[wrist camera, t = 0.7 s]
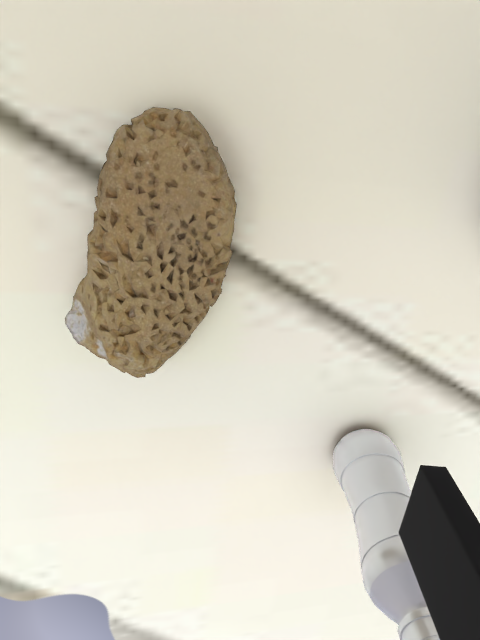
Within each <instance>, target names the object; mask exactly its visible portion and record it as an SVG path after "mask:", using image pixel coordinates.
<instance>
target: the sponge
mask: <svg viewBox="0 0 480 640" xmlns="http://www.w3.org/2000/svg"><path fill="white" fill-rule="evenodd" d="M131 122H132V125H122V126H121V127H120V128H119V129H118V130H117V131H116V133H115V134H114V138H113V141H112V143H111V145H110V147H109V149H108V151H107V154H106V157H107V161H106V162H105V163H104V165H103V168H102V170H101V173H100V176H99V181H98V187H97V192H98V196H96V197H95V203H96V206H97V211H96V212H95V213H94V227H93V230H92V231H91V232H90V233H89V234H88V253H87V259H88V272H87V275H86V277H85V278H84V279H83V280H82V281H81V282H80V284H79V286H78V288H77V290H76V293H75V295H74V296H73V305H72V309H71V311H69V313H68V314H67V315H66V318H65V324H66V325H67V327H68V329H69V330H70V332H71V333H72V335H73V338H74V339H75V340H76V341H77V343H78V344H80V345H82V346H85V347H86V348H87V349H88V350H90V352H92V353H93V354H95V355H96V356H98V357H100V358H104V359H106V360H107V361H108V363H109V364H110V365H112V366H114V367H115V368H117V369H119V370H120V371H122V372H123V373H125V372H127V373H129V374H130V375H132V376H134V377H137V378H139V377H145V374H149V373H154V371H156V370H157V369H159V368H160V367H161V366H162V365H163V364H164V362H165V361H166V360H167V359H168V358H170V357H171V356H173V355H174V354H175V353H176V352H177V351H178V350H179V349H180V348H181V347H182V346H183V345H184V344H185V343H186V341H187V340H188V339H189V338H190V336H191V334H192V333H193V331H194V330H195V329H196V328H197V326H198V325H199V324H200V322H201V321H202V320H203V319H204V317H205V316H206V314H207V313H208V310H209V306H213V305H214V303H215V302H216V301H217V299H218V297H219V294H221V292H222V289H221V285H222V281H223V278H224V277H225V276H226V275H225V272H226V269H227V267H228V264H229V261H230V258H231V255H232V251H231V250H230V245H231V241H232V235H233V232H234V219H235V212H236V206H237V204H236V202H235V199H234V195H235V191H234V188H233V186H232V184H231V182H230V180H229V177H228V174H227V171H226V168H225V165H224V163H223V161H222V159H221V157H220V155H219V153H218V148H217V147H216V146H214V145H213V143H212V141H211V138H210V136H209V134H208V132H207V131H206V130H205V128H204V127H203V126H202V124H201V123H200V122H199V121H198V120H197V119H196V118H195V117H194V116H193V114H192V113H191V112H190V111H182V110H180V109H173V110H169V109H166V108H155V107H153V108H150V109H148V110H146V111H144V112H143V114H142V115H139V116H137V117H135V118H133V119H131Z"/></svg>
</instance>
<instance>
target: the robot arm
mask: <svg viewBox="0 0 480 640" xmlns="http://www.w3.org/2000/svg"><path fill="white" fill-rule="evenodd" d="M399 535H400V538H401V540H402V543H403V545H404V548H405V551H406V553H407V556H408V558H409V561H410V564H411V566H412V569H413V571H414V574H415V577H416V579H417V582H418V584H419V587H420V589H421V592H422V595H423V597H424V600H425V602H426V605H427V608H428V610H429V613H430V615H431V618H432V621H433V623H434V626H435V628H436V631H437V633H438V636H439V639H440V640H480V523H479V521H478V520H477V518H476V516H475V515H474V513H473V511H472V510H471V508H470V506H469V505H468V503H467V501H466V500H465V498H464V496H463V495H462V493H461V492H460V490H459V488H458V487H457V485H456V483H455V482H454V480H453V478H452V477H451V475H450V473H449V472H448V470H447V468H446V467H437V466H425V465H420V468H419V471H418V474H417V477H416V480H415V483H414V486H413V490H412V493H411V496H410V499H409V502H408V505H407V508H406V511H405V514H404V517H403V520H402V523H401V526H400V529H399Z"/></svg>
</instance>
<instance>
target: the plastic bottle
mask: <svg viewBox="0 0 480 640" xmlns="http://www.w3.org/2000/svg"><path fill="white" fill-rule="evenodd" d="M333 470H334V473H335V476H336V478H337V480H338V482H339V484H340V486H341V487H342V489H343V491H344V493H345V495H346V498H347V501H348V503H349V506H350V508H351V511H352V514H353V518H354V522H355V527H356V532H357V536H358V543H359V552H360V562H361V569H362V577H363V583H364V587H365V590H366V591H367V593H368V595H369V596H370V598H371V600H372V601H373V603H374V604H375V605H376V606H377V607H378V608H379V609H380V610H381V611H382V612H383V613H384V614H385V615H386V616H387V617H388V618H390V619H391V620H393V621H394V622H395V623H397V624H398V625H399V626H398V634H399V637H400V640H440V639H439V636H438V633H437V631H436V628H435V626H434V623H433V621H432V618H431V615H430V613H429V610H428V608H427V605H426V602H425V600H424V597H423V595H422V592H421V589H420V587H419V584H418V582H417V579H416V577H415V574H414V571H413V569H412V566H411V564H410V561H409V558H408V556H407V553H406V551H405V548H404V545H403V543H402V540H401V538H400V535H399V529H400V526H401V523H402V520H403V517H404V514H405V511H406V508H407V505H408V502H409V499H410V496H411V490H410V487H409V484H408V482H407V479H406V476H405V471H404V465H403V461H402V457H401V453H400V451H399V449H398V448H397V446H396V445H395V444H394V443H393V441H392V440H391V439H390V438H389V437H388V436H387V435H385V434H384V433H382V432H379V431H376V430H372V429H359V430H355V431H352V432H350V433H348V434H347V435H345V436H344V437H343V438H342V439H341V440H340V441H339V443H338V444H337V445H336V447H335V449H334V452H333Z"/></svg>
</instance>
